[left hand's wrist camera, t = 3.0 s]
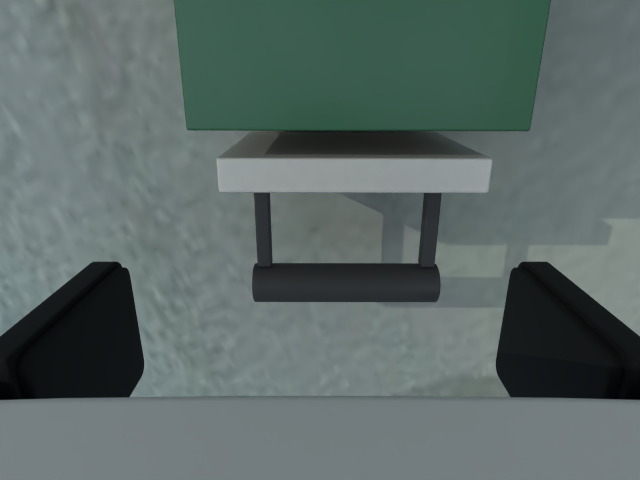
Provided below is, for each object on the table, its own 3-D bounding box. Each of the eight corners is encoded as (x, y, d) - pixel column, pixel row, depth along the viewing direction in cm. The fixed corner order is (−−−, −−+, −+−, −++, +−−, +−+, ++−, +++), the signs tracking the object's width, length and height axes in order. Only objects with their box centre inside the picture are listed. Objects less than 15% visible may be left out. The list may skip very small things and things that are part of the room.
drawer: (424, 262, 24) (468, 340, 17) (256, 262, 24) (230, 340, 17) (465, -190, 18) (568, -378, 10) (233, -191, 18) (173, -379, 10)
